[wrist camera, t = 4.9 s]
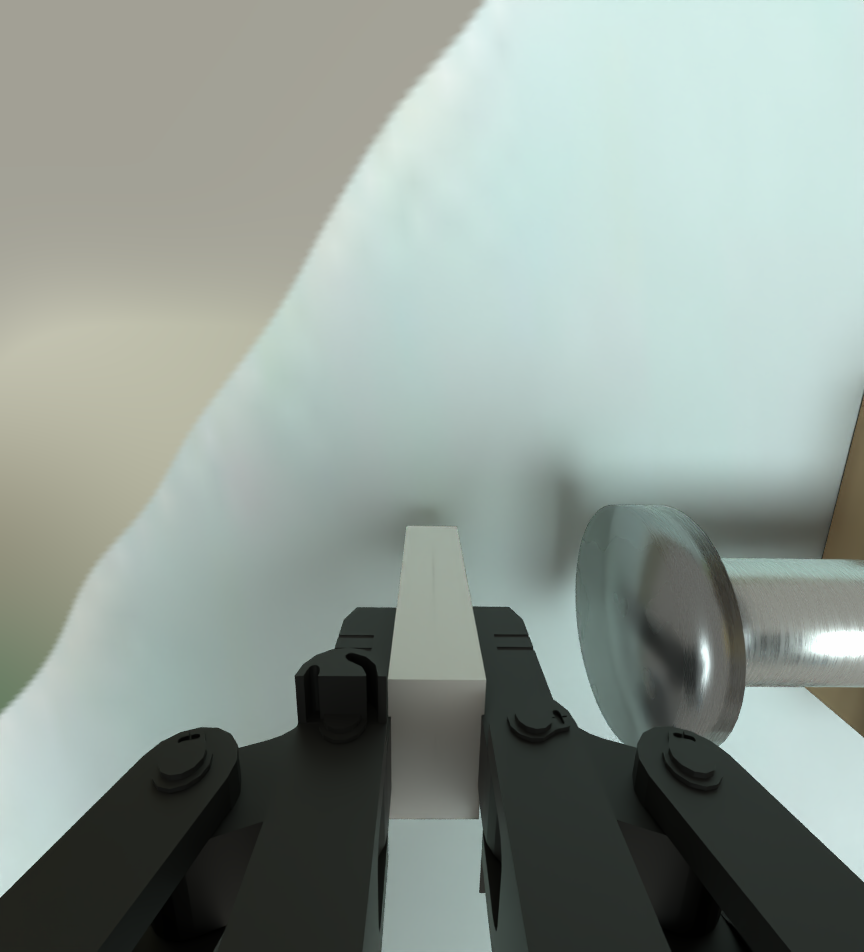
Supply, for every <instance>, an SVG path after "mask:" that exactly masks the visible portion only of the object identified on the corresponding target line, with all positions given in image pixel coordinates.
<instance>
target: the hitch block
mask: <svg viewBox="0 0 864 952" xmlns="http://www.w3.org/2000/svg"><path fill="white" fill-rule="evenodd" d="M822 559H853V560H864V397H863V401H862V405H861V409H860V413H859V417H858V420H857V424H856V428H855V432H854V436H853V440H852V444H851V448H850V452H849V456H848V460H847V464H846V467H845V471H844V475H843V479H842V483H841V487H840V491H839V495H838V499H837V503H836V507H835V510H834V514H833V518H832V522H831V526H830V530H829V534H828V538H827V542H826V546H825V550H824V553H823V557H822ZM805 688H806V689H807V690H808V691H810V692H811V693H812V694H813V695H814V696H816V697H817V698H818V699H819V700H820V701H821V702H823V703H824V704H825V705H826V706H827V707H828V708H830V709H831V710H832V711H833V712H834V713H836V714H837V715H838V716H839V717H840V718H841V719H843V720H844V721H845V722H846V723H847V724H849V725H850V726H851V727H852V728H853V729H854V730H856V731H857V732H858V733H859V734H860V735H861V736H863V737H864V687H805Z"/></svg>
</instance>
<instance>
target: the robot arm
mask: <svg viewBox="0 0 864 952" xmlns="http://www.w3.org/2000/svg"><path fill="white" fill-rule="evenodd" d="M295 685H296V699H297V713H298V725H297V727H296V728H294V729H293V730H291V731H289V732H287V733H285V734H284V735H282V736H279V737H276V738H273V739H270V740H267V741H264V742H260V743H256V744H252V745H248V746H245V747H241V748H238V745H237V743H236V741H235V740H234V738H233V736H232V735H231V734H230V733H228V732H226V731H224V730H222V729H219V728H207V727H200V728H196V729H192V730H188V731H184V732H180V733H178V734H176V735H174V736H172V737H170V738H168V739H166V740H164V741H162V742H160V743H159V744H158V745H157V746H155V747H154V748H153V749H152V750H150V751H149V752H148V753H147V754H145V755H144V756H143V757H142V758H141V759H140V760H139V761H138V762H137V763H136V764H135V765H134V766H133V767H132V768H131V769H130V770H129V771H128V772H127V773H126V774H125V775H124V776H123V777H122V778H121V779H120V780H119V781H118V782H117V783H116V784H115V785H114V786H112V787H111V788H110V789H109V790H108V791H107V792H106V793H105V794H104V795H103V796H102V797H101V798H100V799H99V800H98V801H97V802H96V803H95V804H94V805H93V806H92V807H91V808H90V809H89V810H88V811H87V812H86V813H85V814H84V815H83V816H82V817H81V818H80V819H79V820H78V821H77V822H76V823H75V824H74V825H73V826H72V827H71V828H70V829H69V830H68V831H67V832H66V833H65V834H64V835H63V836H62V837H61V838H60V839H59V840H58V841H57V842H56V843H55V844H54V845H53V846H52V847H51V848H50V849H49V850H48V851H47V852H46V853H45V854H44V855H43V856H42V857H41V858H40V859H39V860H38V861H37V862H36V863H35V864H34V865H33V866H32V867H31V868H30V869H29V870H28V871H27V872H26V873H25V874H24V875H23V876H22V877H21V878H20V879H19V880H18V881H17V882H16V883H15V884H14V885H13V886H12V887H11V888H10V889H9V890H8V891H7V892H6V893H5V894H4V895H3V896H2V897H1V898H0V952H381V948H382V934H383V921H384V908H385V894H386V881H387V867H388V826H389V819H479V804H480V809H481V818H482V826H483V838H482V855H481V873H480V890H479V893H486V902H487V911H488V920H489V929H490V939H491V948H492V952H864V882H863V881H862V880H861V879H860V878H859V877H858V876H857V875H856V874H855V873H853V872H852V871H851V870H850V869H849V868H848V867H847V866H846V865H845V864H844V863H843V862H842V861H841V860H840V859H839V858H838V857H837V856H836V855H835V854H833V853H832V852H831V851H830V850H829V849H828V848H827V847H826V846H825V845H824V844H823V843H822V842H821V841H820V840H819V839H818V838H817V837H816V836H814V835H813V834H812V833H811V832H810V831H809V830H808V829H807V828H806V827H805V826H804V825H803V824H802V823H801V822H800V821H799V820H798V819H797V818H795V817H794V816H793V815H792V814H791V813H790V812H789V811H788V810H787V809H786V808H785V807H784V806H783V805H782V804H781V803H780V802H779V801H778V800H776V799H775V798H774V797H773V796H772V795H771V794H770V793H769V792H768V791H767V790H766V789H765V788H764V787H763V786H762V785H761V784H760V783H759V782H757V781H756V780H755V779H754V778H753V777H752V776H751V775H750V774H749V773H748V772H747V771H746V770H745V769H744V768H743V767H742V766H741V765H740V764H739V763H737V762H736V761H735V760H734V759H733V758H732V757H731V756H730V755H729V754H728V753H726V752H725V751H724V750H722V749H721V748H720V747H718V746H717V745H716V744H714V743H713V742H712V741H710V740H708V739H706V738H704V737H702V736H700V735H698V734H696V733H694V732H692V731H688V730H684V729H680V728H676V727H672V726H665V727H654V728H652V729H649V730H647V731H645V732H643V733H642V735H641V737H640V739H639V741H638V743H637V748H636V747H632V746H629V745H625V744H621V743H617V742H614V741H610V740H606V739H603V738H600V737H597V736H594V735H592V734H589V733H587V732H586V731H584V730H582V729H580V728H578V726H577V724H576V722H575V721H574V719H573V718H572V716H571V715H570V713H569V712H568V710H566V709H565V708H564V707H563V706H561V705H560V704H559V703H557V702H556V701H555V700H553V698H552V695H551V693H550V690H549V688H548V685H547V682H546V680H545V677H544V674H543V672H542V669H541V666H540V664H539V661H538V659H537V656H536V653H535V651H534V650H533V645H532V643H531V640H530V637H528V632H527V630H526V627H525V624H524V622H523V619H522V618H520V617H519V616H518V615H517V614H516V613H515V612H514V611H513V610H512V609H511V608H510V607H472V603H471V597H470V592H469V587H468V582H467V576H466V571H465V566H464V561H463V555H462V550H461V545H460V540H459V534H458V529H457V526H407V527H406V535H405V543H404V551H403V559H402V568H401V576H400V584H399V592H398V600H397V608H375V607H357V608H356V609H355V610H354V611H353V612H352V613H351V614H350V615H349V616H348V617H346V618H345V619H344V621H343V624H342V627H341V630H340V634H339V638H338V640H337V643H336V646H335V649H332V650H329V651H326V652H324V653H321V654H318V655H316V656H314V657H313V658H311V659H310V660H309V661H307V662H306V663H304V664H303V665H302V667H301V668H300V669H299V671H298V672H297V674H296V675H295Z"/></svg>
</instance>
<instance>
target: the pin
mask: <svg viewBox="0 0 864 952" xmlns="http://www.w3.org/2000/svg"><path fill="white" fill-rule="evenodd" d="M576 616H577V626H578V634H579V641H580V646H581V652H582V656H583V661H584V665H585V669H586V673H587V676H588V680H589V683H590V686H591V689H592V692H593V694H594V697H595V699H596V702H597V704H598V706H599V708H600V710H601V713H602V715H603V716H604V718H605V720H606V722H607V724H608V725H609V727H610V728H611V730H612V731H613V732H614V734H615V735H616V736H617V737H618V738H619V740H620V741H621V742H623V743H624V744H625V745H629V746H632V747H636V748H637V743H638V741H639V739H640V737H641V735H642V733H643V732H645V731H647V730H649V729H652V728H654V727H665V726H672V727H676V728H680V729H684V730H688V731H692V732H694V733H696V734H698V735H700V736H702V737H704V738H706V739H708V740H710V741H712V742H713V743H714V744H716V745H717V746H719V745H721V744H722V743H723V742H724V741H725V740H726V738H727V737H728V736H729V734H730V733H731V732H732V730H733V728H734V726H735V723H736V721H737V719H738V716H739V713H740V709H741V706H742V702H743V696H744V690H745V687H864V560H853V559H770V558H720V556H719V554H718V552H717V551H716V549H715V547H714V546H713V544H712V543H711V541H710V540H709V538H708V537H707V536H706V534H705V533H704V532H703V531H702V529H701V528H700V527H699V526H698V525H697V524H696V523H695V522H694V521H693V520H692V519H691V518H690V517H688V516H687V515H685V514H684V513H683V512H681V511H679V510H677V509H675V508H672V507H668V506H664V505H608V506H605V507H603V508H602V509H600V510H599V511H598V512H597V513H596V514H595V515H594V516H593V517H592V519H591V520H590V522H589V524H588V526H587V528H586V530H585V533H584V536H583V539H582V543H581V546H580V551H579V556H578V563H577V572H576Z"/></svg>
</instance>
